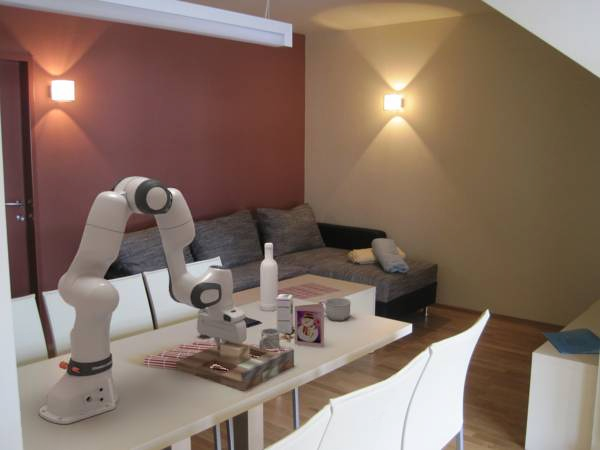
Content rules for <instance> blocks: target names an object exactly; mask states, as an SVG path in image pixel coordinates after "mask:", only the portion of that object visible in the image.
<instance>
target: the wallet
mask: <svg viewBox="0 0 600 450" xmlns="http://www.w3.org/2000/svg"><path fill="white" fill-rule="evenodd" d="M243 320H244V321H245V323H246V329H249V328H252V327H256V326H258V325H261V324H263V322H262V321H260V320H257V319H254V318H252V317H251V318H250V317H248V316H245V318H244V319H243Z"/></svg>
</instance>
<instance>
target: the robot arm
mask: <svg viewBox="0 0 600 450" xmlns="http://www.w3.org/2000/svg"><path fill="white" fill-rule="evenodd" d="M133 214H140V215H146V216H154V218H155V221H156V225H157V228H158V232H159V234H160V238H161V243H162V244H161V247H162V252H163V257H164V261H165V265H166V270H167V273H168V293H169V296H170V298H171V299H172V300H173V301H174V302H176V303H179V304H183V305H186V306H189V307H192V308H194V309H198V311H197V312H198V315H197V322H196V331H197V333H198V334H200V335H201V334H203V335H207V336H206V337H210V338H213V341H214V343H215V345H217V350H220V345H221V343H222V344H224V343H226V342H228V341H230V342H234V343H238V344H240V343H244V342H245V341H246V340H247V336H248V334H247V332H248V331H247V328H246V323H245V321H244V320H243V319H244V318H245V317H246V313H245V312H244V311H243V310H241V309H240V308H238V307H236V306H235V305H234V300H233V292H234V280H233V273H232V270H231V269H230V268H229V267H227V266H223V265H215V264H214V265H212V264H211V265H209V266H208V268H207V270H205V272H204V273H202V274H201V275H200V276H198V277H196V276H193V275H192V274H191V273H190V272H189V271H188V269H187V266H186V261H185V260H186V259H185V256H184V248H185V247H187V246H189V245H190V244H191V243H192V242H193V241H194V238H195V237H196V228H195V223H194V219H193V216H192V213H191V210H190V208H189V206H188V204H187V201H186V199H185V197H184V196H183V194H182V192H181V191H180V190H179V189H177V188H173V187H167V186H166V185H165V184H164V183H162V182H161V181H160V180H157V179H153V178H148V177H147V176H146V177H145V176H137V175H136V176H135V175H128V176H125V177H122V178H120V179H118V180H117V181H116V182H115V184H114V185H113V187H112V188H111V189H110V190H108V191H107V190H106V191H102V192H100V193H98V195H97V196H96V197H95V200H94V201H93V204H92V206H91V207H90V211H89V213H88V216H87V219H86V222H85V225H84V226H85V227H84V228H83V229H84V230H83V234H82V235H81V241H80V243H79V246H78V247H79V248H78V249H77V252H76V255H75V256H74V259H73V261H72V262H71V264H70V265H69V268H68V269H67V272H65V273H64V274H63V275H62V276H61V277H60V278H59V280H58V283H57V291H58V293H59V294H58V295H60V298H61V299H62V300H63V301H64V302H65V303H66V304H67V305H68V306H71V307H73V308H74V311H75V319H74V323H73V327H72V329H71V330H70V333H69V338H70V339H69V340H70V341H69V342H70V357H69V361H68V362H65V361H64V360H62V361H60V362H59V364H58V366H59V368H60V369H62V370H66V372H65V373H64V374H63V375H62V377H61V378H59V380H58V381H57V382H56V383H55V384H54V385H53V386H52V387H51V388H50V390H49V391H48V394H47V402H46V404H45V405H42V407H39V410H38V411H39V412H38V413H39V415H40V417H41V418H43V419H44V420H47V421H48V422H51V423H55V424H61V425H69V424H72V423H74V422H77V421H81V420H84V419H87V418H90V417H93V416H96V415H99V414H103V413H106V412H109V411H112V410H114V409H116V403H117V402H118V400H119V395H118V392H117V389H116V387H115V386H116V385H115V382H114V378H113V376H114V375H113V370H112V368H113V354H112V353H111V336H110V334H111V333H110V330H111V322H112V318H113V313H114V312H115V310H116V309H117V308H118V306H119V303H120V294H119V291H118V290H117V288H116V287H115V285H113V283H112V282H110V281H109V280H108V279H105V278H104V277H105V275H106V274H107V271H108V270H109V268H110V266H111V265H112V264H113V263H114V262H115V261H116V260H117V259H118V257H119V252H120V250H121V245H122V241H123V239H124V235H125V230H126V225H127V222H128V220H129V219H130V216H132V215H133ZM203 335H202V336H203Z"/></svg>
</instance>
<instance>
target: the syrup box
mask: <svg viewBox="0 0 600 450" xmlns="http://www.w3.org/2000/svg"><path fill="white" fill-rule="evenodd" d="M293 297H294V296H293V294H290V293H289V294H288V293H287V294H286V293H282V294H279V293H278V297H277V298H276V301H277V310H276V329H277V330H279V334H291V333H292V331H293V330H294V298H293Z"/></svg>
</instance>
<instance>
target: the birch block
mask: <svg viewBox="0 0 600 450" xmlns="http://www.w3.org/2000/svg"><path fill="white" fill-rule="evenodd" d="M250 346H251V344H249V343H244V342H242V343H240V344H238V343H234V342H230V341H228V342H226V343H224V344H221V345H220V359H222V360H226V361H229V362H233V363H236V364H240V363H242V362H244V361H246V360H248V359H250V358H251V356H250Z"/></svg>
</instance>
